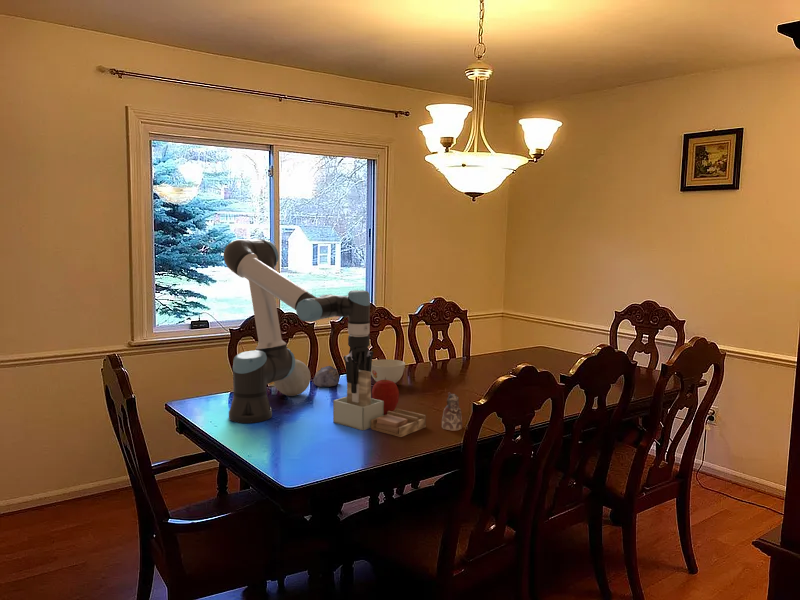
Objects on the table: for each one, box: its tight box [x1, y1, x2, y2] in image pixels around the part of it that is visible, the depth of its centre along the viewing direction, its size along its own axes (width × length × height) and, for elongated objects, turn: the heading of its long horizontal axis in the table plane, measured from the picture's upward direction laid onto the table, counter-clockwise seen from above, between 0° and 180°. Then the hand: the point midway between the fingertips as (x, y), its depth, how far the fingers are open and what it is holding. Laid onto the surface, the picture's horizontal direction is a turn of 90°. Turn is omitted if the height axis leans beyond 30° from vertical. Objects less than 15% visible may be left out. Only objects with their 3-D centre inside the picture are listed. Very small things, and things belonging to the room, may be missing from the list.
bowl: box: [371, 358, 406, 384], centre depth 274 cm, size 16×16×10 cm
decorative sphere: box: [273, 358, 311, 397], centre depth 255 cm, size 15×15×15 cm
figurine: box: [441, 391, 463, 432], centre depth 215 cm, size 7×7×12 cm
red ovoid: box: [371, 377, 400, 415], centre depth 231 cm, size 10×10×14 cm
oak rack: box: [370, 407, 427, 438], centre depth 214 cm, size 14×13×4 cm
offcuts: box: [376, 414, 409, 433], centre depth 212 cm, size 7×10×3 cm
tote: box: [332, 396, 384, 431], centre depth 219 cm, size 11×14×8 cm
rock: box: [312, 365, 340, 388], centre depth 273 cm, size 11×10×10 cm
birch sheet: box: [346, 370, 372, 407], centre depth 219 cm, size 2×9×16 cm, turn 52°
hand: (358, 400), depth 219 cm, fingers closed on birch sheet, 2 cm apart
